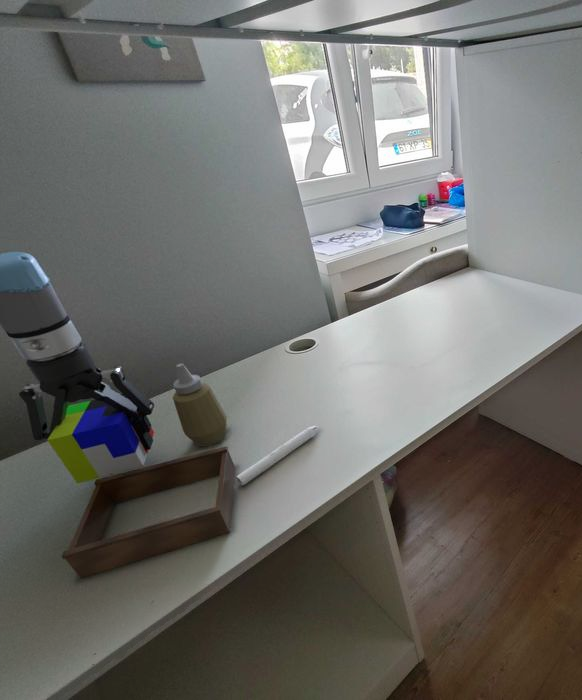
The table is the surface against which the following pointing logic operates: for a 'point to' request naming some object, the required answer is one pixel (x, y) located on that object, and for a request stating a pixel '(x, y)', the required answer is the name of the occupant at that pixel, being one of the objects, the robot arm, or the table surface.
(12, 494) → the table surface
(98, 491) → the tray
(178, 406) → the squeeze bottle
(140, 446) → the puzzle toy
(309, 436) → the marker
